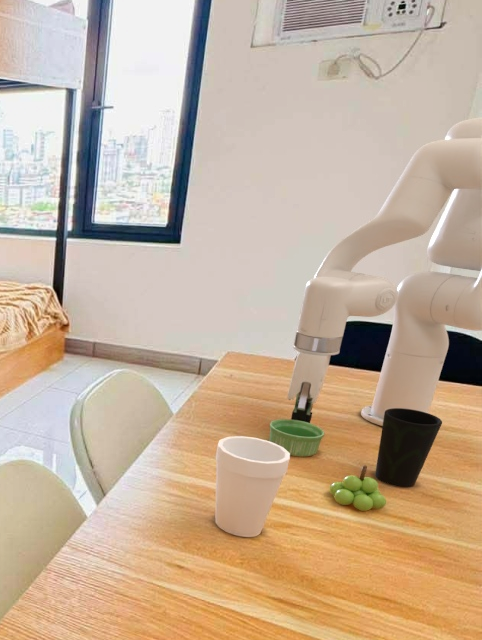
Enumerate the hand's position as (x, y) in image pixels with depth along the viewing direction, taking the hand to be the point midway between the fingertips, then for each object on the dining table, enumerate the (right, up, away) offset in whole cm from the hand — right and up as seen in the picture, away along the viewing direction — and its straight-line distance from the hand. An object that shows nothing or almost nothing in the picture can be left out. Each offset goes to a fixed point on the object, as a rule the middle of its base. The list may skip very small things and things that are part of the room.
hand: (298, 430), depth 126 cm
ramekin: (-4, -3, -4) cm, 7 cm away
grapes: (-6, -10, -24) cm, 27 cm away
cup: (+6, -8, -17) cm, 19 cm away
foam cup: (-29, -13, -30) cm, 43 cm away
